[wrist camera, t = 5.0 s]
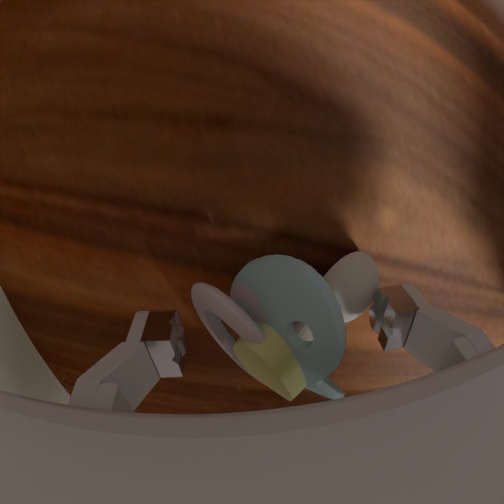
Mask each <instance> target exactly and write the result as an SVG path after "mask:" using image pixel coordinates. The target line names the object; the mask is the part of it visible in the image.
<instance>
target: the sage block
mask: <svg viewBox="0 0 504 504" xmlns="http://www.w3.org/2000/svg"><path fill="white" fill-rule="evenodd" d="M0 390H2V391H6V392H9V393H13V394H17V395H21V396H25V397H30V398H34V399H39V400H44V401H49V402H54V403H59V404H65V405H68V402H69V399H70V397H71V396H70V395H69V394H68V393H67V391H66V390H65V389H64V387H63V386H62V385H61V384H60V382H59V381H58V380H57V378H56V377H55V376H54V374H53V373H52V371H51V370H50V369H49V367H48V366H47V364H46V363H45V361H44V360H43V359H42V357H41V356H40V354H39V353H38V351H37V350H36V348H35V346H34V345H33V343H32V342H31V340H30V339H29V337H28V335H27V334H26V332H25V330H24V329H23V327H22V325H21V324H20V322H19V320H18V318H17V317H16V315H15V313H14V311H13V309H12V307H11V306H10V304H9V302H8V300H7V298H6V296H5V294H4V292H3V290H2V288H1V286H0Z"/></svg>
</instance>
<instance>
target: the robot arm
mask: <svg viewBox="0 0 504 504" xmlns="http://www.w3.org/2000/svg"><path fill="white" fill-rule="evenodd" d="M372 298H373V300H374V301H375V302H374V303H373V305H372V306H371V307H370V312H369V321H370V325H371V327H372V329H373V331H374V332H376V333H378V334H379V336H378V341H379V342H380V344H381V346H382V348H383V350H384V351H389V350H394V349H399V348H403V347H404V349H405V350H407V351H408V352H409V353H411V354H412V355H413V356H415V357H416V358H417V359H419V360H420V361H422V362H423V363H424V364H426V365H427V366H428V367H430V368H431V369H432V370H434V371H435V373H432V374H429V375H426V376H423V377H420V378H416V379H413V380H410V381H407V382H403V383H400V384H397V385H393V386H389V387H386V388H382V389H378V390H374V391H370V392H366V393H362V394H358V395H353V396H349V397H344V398H339V399H334V400H329V401H323V402H318V403H312V404H306V405H299V406H292V407H285V408H277V409H268V410H258V411H247V412H233V413H214V414H153V413H135V412H134V410H135V409H136V408H137V407H138V406H139V404H140V403H141V402H142V401H143V399H144V398H145V397H146V396H147V394H148V393H149V392H150V391H151V389H152V388H153V387H154V386H155V385H156V383H157V382H158V381H159V380H160V378H164V377H183V372H184V364H185V362H184V359H183V355H184V354H185V353H186V335H185V331H184V328H183V327H182V326H181V325H180V322H181V317H180V313H179V311H178V310H151V311H137V312H136V313H135V316H134V319H133V321H132V324H131V327H130V330H129V333H128V336H127V339H126V342H121V343H120V344H119V345H118V346H116V347H115V348H114V349H113V350H111V351H110V352H109V353H108V354H107V355H105V356H104V357H103V358H102V359H101V360H99V361H98V362H97V363H96V364H94V365H93V366H92V367H91V368H90V369H88V370H87V371H86V372H85V373H84V374H82V375H81V376H80V377H79V378H78V379H77V381H76V383H75V386H74V388H73V391H72V394H71V397H70V399H69V402H68V405H65V404H59V403H54V402H49V401H44V400H39V399H34V398H30V397H25V396H21V395H17V394H13V393H9V392H6V391H2V390H0V504H504V344H503V345H501V346H499V347H495V346H494V344H493V343H492V342H491V341H490V339H489V338H488V337H487V335H486V334H485V333H484V332H483V330H482V329H481V328H479V327H477V326H475V325H473V324H471V323H468V322H466V321H464V320H462V319H460V318H458V317H456V316H454V315H452V314H450V313H448V312H445V311H443V310H441V309H439V308H437V307H435V306H433V307H431V306H430V305H429V304H428V302H427V301H426V300H425V299H424V297H423V296H422V295H421V294H420V292H419V291H418V290H417V289H416V288H415V286H414V285H413V284H412V283H410V282H409V283H404V284H399V285H395V286H389V287H383V288H376V289H375V290H374V292H373V297H372Z"/></svg>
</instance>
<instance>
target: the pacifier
mask: <svg viewBox="0 0 504 504" xmlns="http://www.w3.org/2000/svg"><path fill="white" fill-rule="evenodd" d="M379 282H380V275H379V270H378V267H377V264H376V262H375V261H374V260H373V258H372V257H371V256H370V255H368V254H367V253H365V252H362V251H356V252H352V253H350V254H348V255H346V256H344V257H343V258H341V259H340V260H339V261H338V262H337V263H335V264H334V265H333V266H332V267H331V268H330V269H329V271H328V272H327V273H326V274H325V275H324V277H322V276H321V275H320V274H319V273H318V272H317V271H316V270H315V269H314V268H313V267H311V266H310V265H308V264H306V263H305V262H303V261H302V260H299V259H295V258H293V257H291V256H287V255H278V254H277V255H266V256H264V257H261V258H256V259H254V260H252V261H250V262H248V263H247V264H246V265H245V266H244V267H243V268H242V269H241V271H240V272H239V273H238V274H237V276H236V277H235V279H234V281H233V283H232V286H231V291H230V297H229V296H227V295H226V294H225V293H223V292H222V291H220V290H219V289H218V288H216V287H213V286H211V285H209V284H207V283H204V282H201V283H195V284H194V285H193V287H192V290H191V298H192V302H193V305H194V307H195V309H196V311H197V313H198V315H199V317H200V319H201V321H202V322H203V324H204V325H205V327H206V328H207V330H208V331H209V333H210V334H211V335H212V337H213V338H214V339H215V340H216V342H217V343H218V344H219V345H220V346H221V347H222V349H223V350H224V351H225V352H226V353H227V354H228V355H229V356H230V357H231V358H232V359H233V360H234V361H235V362H236V363H237V364H238V365H239V366H240V367H241V368H242V369H244V370H245V371H246V372H247V373H248V374H250V375H251V376H252V377H253V378H255V379H256V380H258V381H259V382H261V383H262V384H264V385H266V386H268V387H269V388H270V389H272V390H273V391H275V392H276V393H278V394H279V395H281V396H282V397H284V398H285V399H287V400H288V401H292V400H293V399H294V398H295V397H296V396H297V395H298V394H299V393H300V392H301V391H302V390H303V389H304V388H306V389H308V390H310V391H313V392H315V393H317V394H319V395H322V396H324V397H327V398H330V399H333V400H334V399H339V398H343V397H344V396H345V393H344V392H343V390H342V389H340V387H339V386H338V385H336V384H335V383H334V382H332V381H331V380H330V379H329V378H327V376H329V375H330V374H331V373H332V372H333V371H334V370H335V369H336V368H337V367H338V365H339V364H340V362H341V360H342V357H343V355H344V352H345V343H346V327H345V323H346V322H349V321H351V320H353V319H355V318H357V317H358V316H360V315H361V314H362V313H363V312H364V311H366V310H367V308H368V307H369V306H370V305H371V303H372V302H373V298H372V297H373V292H374V290H375V289H376V288H379ZM221 320H223V321H224V322H225V323H226V324H227V325H228V326H230V327H231V328H232V329H233V330H234V331H235V332H236V333H237V334H238V335H239V336H240V337H239V339H238V340H237V341H235V339H234V338H233V337H232V336H231V334H230V333H229V332H228V330H227V329H226V328H225V326H224V325H223V323H222V321H221ZM293 321H295V322H294V324H293Z"/></svg>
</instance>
